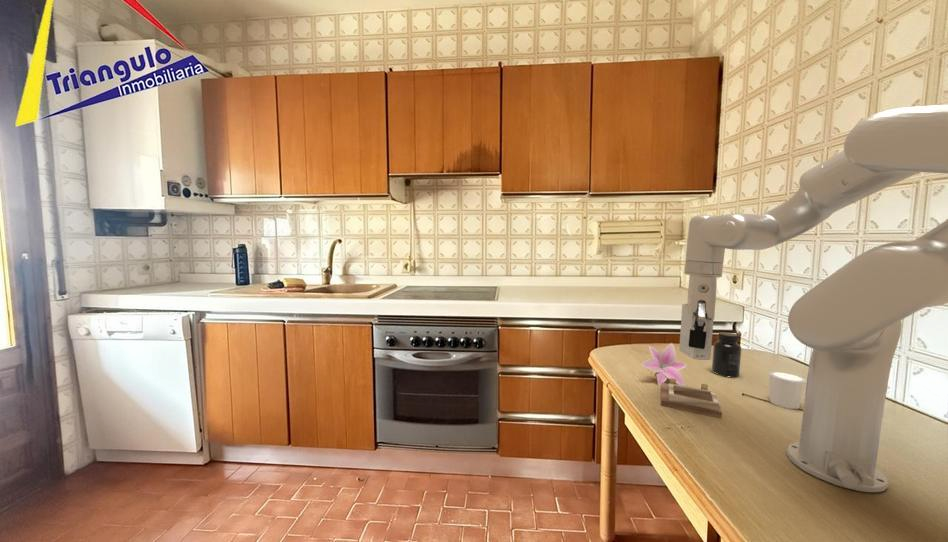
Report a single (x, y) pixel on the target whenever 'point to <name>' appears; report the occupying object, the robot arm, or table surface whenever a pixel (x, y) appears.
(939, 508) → the table surface
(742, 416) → the table surface
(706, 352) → the skincare box
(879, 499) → the table surface
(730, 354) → the supplement bottle
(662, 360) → the lily
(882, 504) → the table surface
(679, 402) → the square wooden tray
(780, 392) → the white cylinder
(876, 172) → the robot arm
